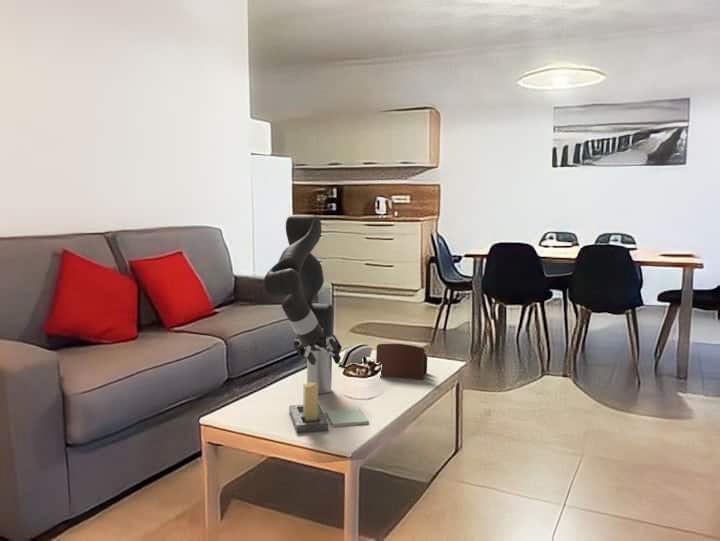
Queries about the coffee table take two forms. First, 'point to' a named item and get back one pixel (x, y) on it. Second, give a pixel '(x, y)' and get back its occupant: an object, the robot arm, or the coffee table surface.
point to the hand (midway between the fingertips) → (326, 362)
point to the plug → (310, 402)
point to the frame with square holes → (301, 427)
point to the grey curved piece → (356, 354)
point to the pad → (346, 417)
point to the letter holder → (402, 361)
